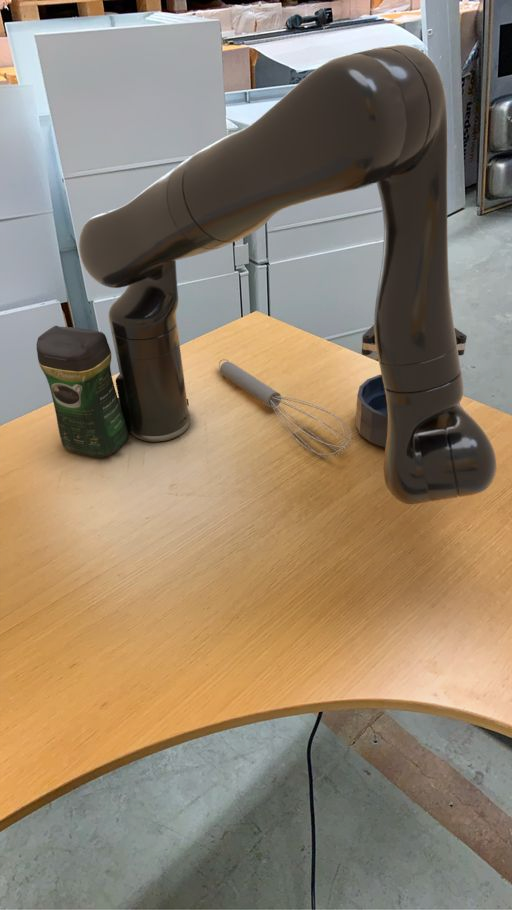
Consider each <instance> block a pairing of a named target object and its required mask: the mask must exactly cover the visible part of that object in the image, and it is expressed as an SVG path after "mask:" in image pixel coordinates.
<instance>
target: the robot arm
mask: <svg viewBox="0 0 512 910" xmlns="http://www.w3.org/2000/svg"><path fill="white" fill-rule="evenodd" d="M448 132H449V131H448V105H447V96H446V91H445V87H444V83H443V78H442V76H441V74H440V72H439V70H438V68H437V66H436V64H435V62H434V61H432V59H431V58H430V56H429V55H427V54H426V53H425V52H424V51H422V50H421V49H419V48H418V47H415V46H412V45H409V44H398V43H397V44H390V45H384V46H379V47H376V48H372V49H368V50H364V51H359V52H354V53H351V54H350V53H349V54H344V55H341V56H337V57H335V58H333V59H331V60H329V61H327V62H325V63H323V64H322V65H320V66H318V67H317V68H315V69H314V70H313V71H312V72H310V73H309V74H308V75H306V76H305V77H304V78H302V80H301V81H299V82H298V83H297V84H296V85H295V86H293V88H292V89H291V90H290V91H288V92H287V93H286V94H285V95H284V96H283V97H282V98H281V99H279V100H278V101H277V102H276V103H275V104H274V105H272V106H271V107H270V109H269V108H268V110H267V111H266V112H265V113H264V114H262V115H261V116H260V117H259V118H258V119H256V120H255V121H253V122H252V123H251V124H249V125H248V126H247V127H244V128H243V129H241V130H238V131H236V132H234V133H231V134H229V135H226V136H224V137H222V138H221V139H219V140H217V141H215V142H214V143H212V144H210V145H208V146H206V147H204V148H201V150H199V151H198V152H195V153H194V154H193V155H191V156H189V157H188V158H187V159H185V160H184V161H182V162H181V163H179V164H178V165H176V166H175V167H174V168H173V169H171V170H170V171H169V172H167V173H166V174H164V175H163V176H161V177H160V178H159V179H157V180H155V182H153V183H152V184H150V185H149V186H148V187H146V188H145V189H144V190H143V191H141V192H140V193H139V194H138V195H136V196H135V197H134V198H133V199H131V200H130V201H129V202H128V203H126V204H124V205H122V206H120V207H118V208H115V209H112V210H109V211H105V212H103V213H100V214H97V215H94V216H92V217H90V219H88V220H87V221H86V222H85V224H84V225H83V227H82V229H81V231H80V234H79V241H78V251H79V252H78V253H79V258H80V260H81V263H82V265H83V267H84V269H85V271H86V272H87V273H88V274H89V276H90V277H91V278H92V279H93V280H95V281H96V282H97V283H98V284H100V285H102V286H104V287H107V288H112V289H120V288H126V289H124V291H123V293H122V294H121V295H120V296H119V297H118V298H117V299H116V300H115V301H114V302H113V303H112V304H111V306H110V307H109V310H108V323H109V328H110V333H111V337H112V341H113V346H114V351H115V357H116V363H117V366H118V372H119V374H118V375H117V377H116V378H115V388H116V393H117V397H118V401H119V404H120V407H121V410H122V413H123V416H124V420H125V423H126V427H127V431H128V434H131V435H133V436H134V438H137V439H138V440H141V441H145V442H151V443H157V442H159V443H160V442H165V441H170V440H173V439H175V438H177V437H180V436H181V435H183V434H184V433H185V432H186V431H188V428H189V427H190V424H191V417H190V413H189V412H190V411H189V406H190V403H189V399H188V398H187V391H186V390H187V389H186V383H185V382H186V381H185V376H184V369H183V360H182V353H181V346H180V345H181V344H180V336H179V331H178V323H177V310H178V306H179V289H178V274H177V261H178V260H182V259H187V258H191V257H194V256H198V255H202V254H205V253H208V252H211V251H214V250H218V249H221V248H223V247H225V246H228V245H231V244H233V243H235V242H238V241H240V240H242V239H245V238H246V237H248V236H250V235H251V234H253V233H255V232H257V231H258V230H260V229H262V228H263V227H264V226H265V225H266V224H267V223H268V222H269V221H270V220H271V218H272V217H273V216H274V215H276V214H277V213H279V212H280V211H282V210H284V209H288V208H290V207H292V206H295V205H296V206H297V205H299V204H303V203H305V202H309V201H313V200H317V199H321V198H325V197H329V196H332V195H337V194H342V193H347V192H351V191H356V190H360V189H363V188H367V187H370V186H372V185H375V184H376V187H377V190H378V194H379V198H380V203H381V210H382V220H383V243H382V244H383V245H382V246H383V248H382V255H381V265H380V272H379V279H378V285H377V292H376V296H375V297H376V298H375V305H374V313H373V315H374V317H373V318H374V319H373V325H372V326H370V328H369V329H368V330H367V331H365V333H363V335H362V339H361V341H362V342H361V354H362V355H364V356H369V355H371V354H372V353H376V355H377V360H378V364H379V368H380V374H382V379H383V384H384V389H385V394H386V401H387V412H388V427H387V438H386V446H385V447H384V457H383V477H384V483H385V486H386V487H387V490H388V491H389V493H390V494H391V495H392V497H394V498H395V499H396V500H397V501H398V502H400V503H402V504H406V505H417V504H419V505H420V504H424V503H425V504H426V503H431V502H437V501H444V500H451V499H456V498H461V497H468V496H469V497H470V496H475V495H477V494H480V493H483V492H484V491H486V489H488V488H489V487H490V486H491V484H492V483H493V481H494V479H495V477H496V473H497V458H496V453H495V449H494V447H493V444H492V442H491V441H490V439H489V437H488V435H487V434H486V432H485V431H484V429H483V428H482V427H481V426H480V424H478V422H477V421H476V420H475V419H474V418H473V417H472V416H471V415H469V413H468V412H466V410H465V409H464V408H463V407H462V406H461V401H462V399H463V396H464V380H463V375H462V369H461V363H460V357H459V356H464V354H465V349H466V343H467V338H468V337H467V335H466V334H465V333H463V332H462V331H460V330H459V329H457V328H456V327H455V323H454V317H453V316H454V315H453V310H452V308H453V307H452V301H451V292H450V290H451V289H450V277H449V275H450V274H449V249H448V247H449V246H448V244H449V243H448V240H449V239H448V238H449V237H448V146H449V145H448V144H449V143H448V141H449V139H448Z"/></svg>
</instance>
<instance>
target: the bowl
mask: <svg viewBox="0 0 512 910" xmlns="http://www.w3.org/2000/svg"><path fill="white" fill-rule="evenodd" d="M357 390H358V391H357V395H356V396H357V397H356V411H355V427H356V429H357V431H358V433H359V434H360V436H361V437H363V438H364V439H366V440H367V441H368V442H369V443H370V444H371V443H372V444H374V445H376V446H379V447H382V448H385V446H386V438H387V427H388V412H387V401H386V394H385V389H384V384H383V379H382V374H381V373H380V374H378V375H375V376H372V377H369V378H367V379H366V380H365V381H364V382H362V383H361V385H360V386H359V387H358V389H357Z"/></svg>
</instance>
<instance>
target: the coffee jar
mask: <svg viewBox="0 0 512 910" xmlns="http://www.w3.org/2000/svg"><path fill="white" fill-rule="evenodd" d="M36 353H37V361H38V365H39V367H40V369H41V371H42V372H43V374H44V376H45V379H46V381H47V383H48V386H49V390H50V393H51V398H52V402H53V407H54V412H55V416H56V422H57V428H58V433H59V438H60V442H61V444H62V447H63V448H64V449H66V450H67V451H69V452H72V453H75V454H78V455H82V456H87V457H94V458H104V457H108V456H109V455H112V454H114V453H115V452H117V451H118V450H120V448H122V447H123V445H124V444H125V442H126V441H127V439H128V437H129V433H128V431H127V427H126V423H125V420H124V416H123V413H122V410H121V407H120V404H119V401H118V398H119V396H118V393H117V389H116V386H115V384H114V380H113V376H112V370H111V363H112V350H111V347H110V344H109V342H108V338H107V337H106V335H105V333H104V332H102V331H99V330H91V329H85V328H79V327H71V326H59V325H54V326H52V327H50V328H49V329H47V330H46V331H44V332H43V333H42V334H40V335H39V336H38V337H37V341H36Z"/></svg>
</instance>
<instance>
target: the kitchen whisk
mask: <svg viewBox="0 0 512 910" xmlns="http://www.w3.org/2000/svg"><path fill="white" fill-rule="evenodd" d="M222 361H224V362H223V363H222V364H221V362H222ZM218 369H219V371H220V373H221V375H222V376H223V377H225V378H226V379H228V380H229V381H230V382H232V383H233V384H235V385H236V386H238V387H239V388H240V389H242V391H245V392H246V393H247V394H249V395H250V396H252V397H254V398H255V399H257V400H258V401H259V402H261V403H262V404H264V405H265V406H267V407H268V408H270V409H273V411H274V412H275V414H276V416H277V417H278V419H279V420H280V422H281V423H282V425H283V426H284V428H285V429H286V431H288V432H289V434H290V435H291V436H292V437H293V439H295V440H296V441H297V442H298V443H299V444H300V445H301V446H303V447H304V448H305V449H306V450H308V451H310V452H312V453H315V454H317V455H318V456H320V457H323V458H324V459H334V458H336V457H337V456H339V455H340V454H342V455H343V454H345V453H346V450H345V448H347V447H350V446H351V439H352V438H351V437H352V431H351V428H350V426H349V425H348V424H347V423H346V422H345V421H344V420H343V419H342V418H340V417H338V416H337V415H335V414H333V413H332V412H330V411H329V410H327V409H325V408H324V407H321V406H319V405H317V404H315V403H312V402H309V401H306V400H302V399H299V398H295V397H294V398H293V397H288V396H282V395H281V393H279V392H277V391H276V390H274V389H273V388H271V386H269V385H267V384H265V383H264V382H262V381H261V380H259V379H258V378H256V377H255V376H253V375H251V374H250V373H248V372H247V371H246V370H244V369H243V368H241V367H240V366H238V365H236V364H235V363H233V362H231V361H229V359H221V360H220V361H219V363H218ZM284 400H286V401H284ZM287 401H290V402H295V403H298V404H302V405H305V406H308V407H312V408H314V409H318V410H321V411H322V412H325V413H327V414H328V415H329V414H330V415H331V416H332V417H333V418H334V419H335V420H337V422H338V424H339V426H340V427H341V429H342V432H340V431H338V430H337V429H336V428H333V427H331V426H330V425H328V424H327V423H325V422H323V421H321V420H319V419H318V418H317V417H315V416H314V415H312V414H311V413H309V412H307V411H305V410H303V409H302V408H299V407H297V406H296V405H294V404H292V403H289V402H287ZM281 403H282V404H283V405H286V406H288V407H290V408H292V409H293V410H296V411H298V412H300V413H302V414H304V415H306V416H308V417H309V418H312V419H314V420H315V421H318V422H319V423H320V424H322V426H324V427H325V428H326V429H327V430H328V431H330V432H331V433H332V434H333V435H334V437H335V438H337V440H338V441H339V443H340V445H334V444H330V443H326V442H325V441H323V440H322V439H321V438H319V436H316V435H315V434H314V433H313V432H311V430H309V429H308V428H307V427H306V426H304V425H303V424H302V423H300V422H299V421H298V420H297V419H295V417H293V416H292V415H291V414H289V413H288V412H287V411H286V410H285V409H284V408H282V407H281V406H280V404H281ZM279 408H280V409H281V410H282V411H281V410H280V409H279ZM283 412H285V413H286V414H287V415H288V416H289V417H290V418H291V419H293V420H294V421H295V422H297V423H298V424H299V425H300V426H301V427H302V428H303V429H305V430H306V431H307V432H308V433H307V432H306V431H304V430H303V429H302V428H300V427H299V426H298V425H296V424H295V423H294V422H293V421H292V420H291V419H290V418H288V416H286V415H285V414H284V413H283ZM279 415H280V416H279ZM284 417H285V418H286V419H287V420H288V421H289V422H290V424H292V425H294V426H295V427H296V428H297V429H298V430H300V432H302V433H304V434H305V435H307V436H309V437H310V438H312V439H314V440H315V441H318V442H320V443H322V444H324V445H326V446H327V447H329V448H330V449H331V450H334V451H335V452H330V453H321V452H317V451H315V450H314V449H313V448H312V447H310V445H308V444H307V443H306V442H305V441H304V440H303V439H302V438H301V437H300V436H299V435H298V434H297V433H296V431H295V430H294V429H293V428H292V426H291V425H290V424H289V423H288V422H287V420H285V418H284ZM283 421H284V422H283ZM340 421H341V422H343V423H344V425H345V426H347V428H348V430H349V438H348V437H346V436H345V430H344V427H343V425H342V423H341V422H340ZM285 423H286V424H285ZM288 427H289V428H288ZM289 429H290V430H291V431H292V432H293V433H294V434H293V433H292V432H291V431H290V430H289ZM331 429H332V430H331ZM334 431H335V432H336V433H337V434H339V435H341V436H342V441H341V440H340V438H339V437H338V436H337V434H335V432H334ZM309 433H310V434H309ZM295 435H296V437H295ZM298 438H299V439H300V440H299V439H298ZM345 439H346V440H347V442H346V443H345ZM344 443H345V444H344ZM348 443H349V444H348ZM334 447H336V448H338V450H337V449H335V448H334ZM339 448H340V449H339ZM342 450H343V452H342ZM335 454H336V455H335ZM330 455H334V456H330Z"/></svg>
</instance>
